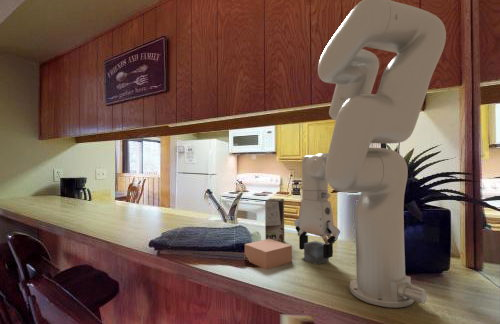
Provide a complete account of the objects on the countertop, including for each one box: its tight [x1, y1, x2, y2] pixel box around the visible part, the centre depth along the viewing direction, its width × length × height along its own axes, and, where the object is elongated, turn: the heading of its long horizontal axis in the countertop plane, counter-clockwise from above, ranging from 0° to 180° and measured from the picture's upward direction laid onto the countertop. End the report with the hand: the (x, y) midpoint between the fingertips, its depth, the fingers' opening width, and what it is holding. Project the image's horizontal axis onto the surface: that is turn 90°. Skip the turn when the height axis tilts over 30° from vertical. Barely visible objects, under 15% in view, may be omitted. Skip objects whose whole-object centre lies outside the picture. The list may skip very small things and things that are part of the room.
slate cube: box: [303, 240, 330, 265], centre depth 80 cm, size 5×5×5 cm
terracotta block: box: [244, 239, 293, 270], centre depth 80 cm, size 10×10×5 cm
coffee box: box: [264, 198, 285, 243], centre depth 99 cm, size 9×6×16 cm
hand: (315, 252), depth 80 cm, fingers open, 9 cm apart
